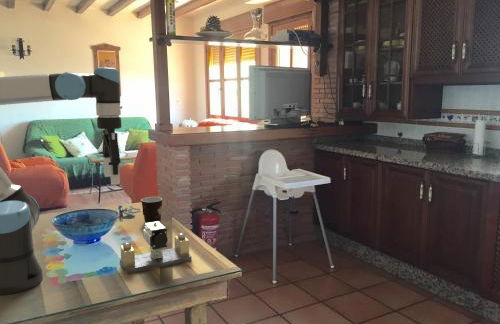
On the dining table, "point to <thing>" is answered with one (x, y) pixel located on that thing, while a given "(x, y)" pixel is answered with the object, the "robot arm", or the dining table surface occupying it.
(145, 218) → the coffee mug
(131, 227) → the dining table surface
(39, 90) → the robot arm
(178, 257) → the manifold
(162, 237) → the pneumatic valve
